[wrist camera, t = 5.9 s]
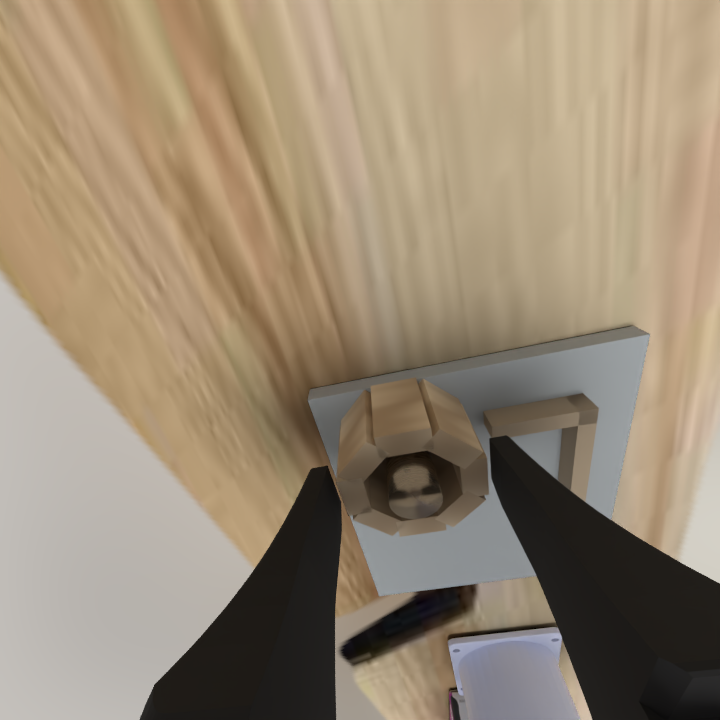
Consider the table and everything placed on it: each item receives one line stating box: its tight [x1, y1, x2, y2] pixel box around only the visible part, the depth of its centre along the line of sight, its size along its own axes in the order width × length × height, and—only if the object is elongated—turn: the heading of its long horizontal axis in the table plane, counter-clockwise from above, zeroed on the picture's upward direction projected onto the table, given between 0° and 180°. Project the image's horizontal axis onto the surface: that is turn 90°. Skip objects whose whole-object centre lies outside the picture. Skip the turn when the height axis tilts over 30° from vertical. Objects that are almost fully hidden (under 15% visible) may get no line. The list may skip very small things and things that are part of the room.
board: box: [308, 326, 650, 596], centre depth 16 cm, size 15×13×3 cm
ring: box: [336, 377, 489, 537], centre depth 13 cm, size 5×5×3 cm
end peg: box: [385, 450, 443, 519], centre depth 13 cm, size 2×2×4 cm
